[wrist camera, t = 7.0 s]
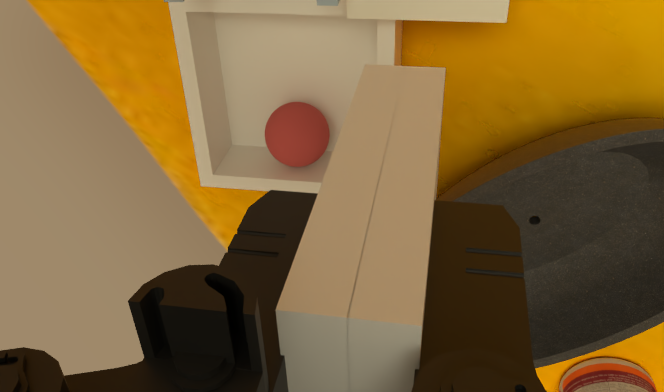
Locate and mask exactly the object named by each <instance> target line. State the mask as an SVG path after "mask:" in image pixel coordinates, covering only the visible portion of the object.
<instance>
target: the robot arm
mask: <svg viewBox="0 0 664 392" xmlns="http://www.w3.org/2000/svg"><path fill="white" fill-rule="evenodd" d="M445 72H446V68H441V67H416V66H392V65H367V64H365V66H364V69H363V71H362V74H361V77H360V80H359V82H358V85H357V88H356V91H355V93H354V96H353V99H352V102H351V104H350V107H349V110H348V113H347V115H346V118H345V121H344V124H343V126H342V129H341V132H340V134H339V137H338V140H337V143H336V145H335V148H334V151H333V154H332V156H331V159H330V162H329V165H328V167H327V170H326V173H325V176H324V178H323V181H322V184H321V187H320V189H319V192H318V193H306V192H293V191H280V190H270V191H269V192H268V193H266V194H265V195H264V196H263V197H261V198H260V199H259V200H258V201H256V202H255V203H254V204H253V205H251V206H250V207H249V208H248V210H247V212H246V214H245V216H244V218H243V220H242V222H241V224H240V225H239V227H238V229H237V234H235V235H234V237H233V239H232V241H231V243H230V245H229V247H228V253H225V255H224V257H223V259H222V261H221V263H220V265H219V266H217V265H188V266H185V267H181V268H178V269H175V270H171V271H168V272H164V273H163V274H161V275H159V276H157V277H156V278H154V279H152V280H150V281H149V282H147V283H145V284H143V285H142V286H141V288H140V289H139V290H138V291H137V292H136V293H135V294H134V295H133V296H132V297H131V298H130V299H129V301H128V303H129V306H130V310H131V313H132V316H133V320H134V323H135V327H136V330H137V334H138V337H139V340H140V344H141V347H142V351H143V354H144V359H143V361H141V362H139V363H137V364H132V365H128V366H124V367H120V368H114V369H107V370H100V371H94V372H87V373H81V374H73V375H66V376H64V375H63V372H62V370H61V367H60V365H59V362H58V361H57V360H56V359H54V358H53V357H51V356H50V355H48V354H47V353H46V352H45V351H41V350H35V349H30V348H24V347H23V348H16V349H10V350H2V351H0V392H547V391H546V390H545V389H544V387H543V385H542V383H541V382H540V380H539V378H538V376H537V374H536V370H535V367H534V363H533V357H532V347H531V337H530V327H529V317H528V307H527V297H526V287H525V279H524V267H523V257H522V247H521V237H520V228H519V226H518V225H517V224H516V222H515V221H514V220H513V218H512V217H511V216H510V214H509V213H508V212H507V210H506V209H505V208H504V206H503V205H492V204H479V203H466V202H453V201H440V200H436V194H437V181H438V168H439V154H440V140H441V127H442V113H443V99H444V86H445Z"/></svg>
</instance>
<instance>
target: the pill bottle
mask: <svg viewBox="0 0 664 392" xmlns="http://www.w3.org/2000/svg"><path fill="white" fill-rule="evenodd" d="M559 392H657V391H656V387H655V385H654V382H653V380H652V378H651V377H650V376H649V374H648V373H647V372H646V371H645V370H644V369H642V368H641V367H639V366H637V365H636V364H633V363H631V362H628V361H625V360H622V359H617V358H606V357H604V358H595V359H590V360H587V361H584V362H581V363H579V364H577V365H575V366H574V367H572V368H571V369H570V370H568V371H567V372H566V374H565V375H564V376H563V378H562V380H561V382H560V386H559Z"/></svg>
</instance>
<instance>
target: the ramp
mask: <svg viewBox="0 0 664 392" xmlns="http://www.w3.org/2000/svg"><path fill="white" fill-rule="evenodd" d="M339 1H340V0H317V5H319V6H338V4H339ZM164 2H184V0H164ZM346 4H347V18H348V19H385V20H422V21H458V22H495V23H506V22H507V15H508V7H509V0H346Z"/></svg>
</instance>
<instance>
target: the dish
mask: <svg viewBox="0 0 664 392" xmlns="http://www.w3.org/2000/svg"><path fill="white" fill-rule="evenodd" d="M168 4H169V10H170V15H171V21H172V27H173V32H174V38H175V43H176V49H177V55H178V60H179V66H180V71H181V77H182V83H183V88H184V94H185V99H186V105H187V111H188V116H189V122H190V127H191V133H192V139H193V144H194V150H195V155H196V161H197V167H198V172H199V178H200V183H201V186H206V187H219V188H232V189H245V190H258V191H270V190H280V191H293V192H306V193H318V192H319V189H320V187H321V184H322V181H323V178H324V176H325V173H326V170H327V167H328V165H329V162H330V159H331V156H332V154H333V151H334V148H335V145H336V143H337V140H338V137H339V134H340V132H341V129H342V126H343V124H344V121H345V118H346V115H347V113H348V110H349V107H350V104H351V102H352V99H353V96H354V93H355V91H356V88H357V85H358V82H359V80H360V77H361V74H362V71H363V69H364V66H365V64H367V65H392V66H401V61H402V28H403V20H385V19H348V18H347V4H346V0H340V1H339V4H338V6H319V5H317V0H184V2H168ZM290 102H304V103H307V104H310V105H312V106H314V107H315V108H317V109H318V110H319V111H320V112H321V113H322V114H323V115H324V117H325V119H326V121H327V123H328V126H329V132H330V137H329V143H328V146H327V148H326V150H325V152H324V153H323V155H322V156H321V157H320V158H319V159H318V160H317V161H315V162H314V163H312V164H309V165H307V166H302V167H292V166H288V165H285V164H283V163H281V162H279V161H278V160H277V159H275V158H274V157H273V155H272V154H271V153H270V151H269V149H268V148H267V145H266V141H265V127H266V123H267V121H268V119H269V117H270V116H271V114H272V113H273V112H274V111H275V110H276V109H277V108H279V107H280V106H282V105H284V104H287V103H290Z"/></svg>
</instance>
